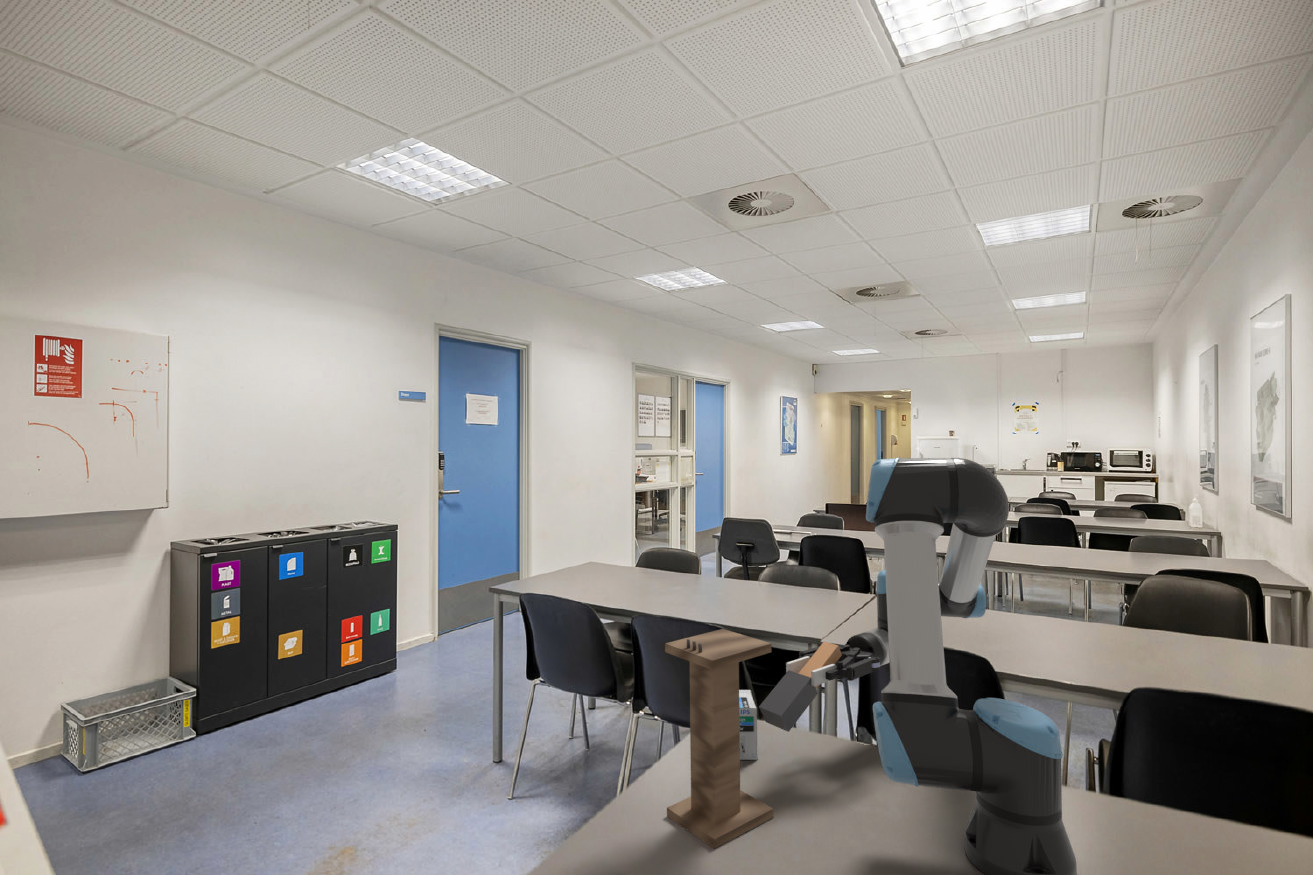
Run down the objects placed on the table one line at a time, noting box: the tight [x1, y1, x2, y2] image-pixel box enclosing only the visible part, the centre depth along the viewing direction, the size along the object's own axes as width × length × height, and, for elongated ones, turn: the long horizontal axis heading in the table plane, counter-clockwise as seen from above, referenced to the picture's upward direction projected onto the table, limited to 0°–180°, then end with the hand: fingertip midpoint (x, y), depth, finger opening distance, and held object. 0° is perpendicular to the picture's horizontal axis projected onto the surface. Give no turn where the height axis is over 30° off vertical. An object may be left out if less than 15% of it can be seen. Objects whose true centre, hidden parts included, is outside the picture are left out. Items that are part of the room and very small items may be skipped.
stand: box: [664, 628, 774, 849], centre depth 116 cm, size 12×14×31 cm
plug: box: [758, 641, 842, 733], centre depth 130 cm, size 6×20×4 cm
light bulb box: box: [739, 689, 759, 761], centre depth 141 cm, size 11×7×11 cm, turn 179°
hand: (800, 674), depth 129 cm, fingers closed on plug, 5 cm apart
